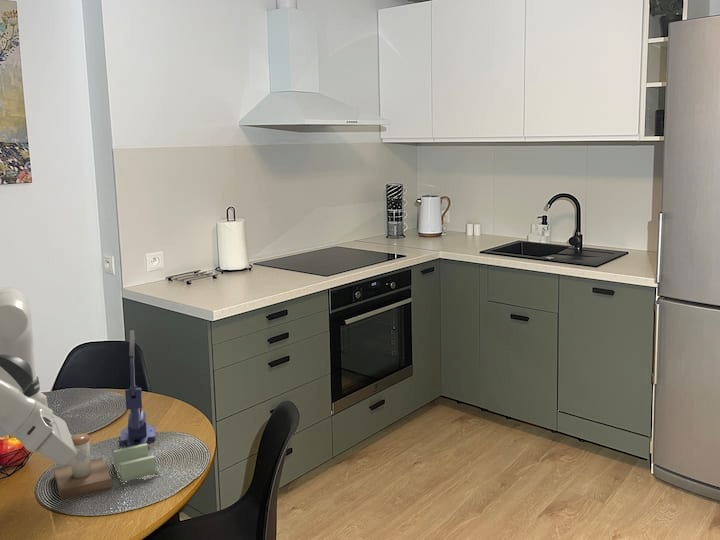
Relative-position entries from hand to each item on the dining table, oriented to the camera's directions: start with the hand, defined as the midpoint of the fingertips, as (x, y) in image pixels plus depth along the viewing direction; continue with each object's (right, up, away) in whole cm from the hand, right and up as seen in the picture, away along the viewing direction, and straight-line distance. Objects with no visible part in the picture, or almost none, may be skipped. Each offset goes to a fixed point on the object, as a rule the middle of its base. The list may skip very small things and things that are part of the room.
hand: (83, 453), depth 160 cm
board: (-1, -7, +1) cm, 7 cm away
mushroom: (-1, -5, +1) cm, 5 cm away
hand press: (+5, -3, +24) cm, 25 cm away
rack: (+10, -6, +7) cm, 13 cm away
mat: (+10, -6, +7) cm, 14 cm away
